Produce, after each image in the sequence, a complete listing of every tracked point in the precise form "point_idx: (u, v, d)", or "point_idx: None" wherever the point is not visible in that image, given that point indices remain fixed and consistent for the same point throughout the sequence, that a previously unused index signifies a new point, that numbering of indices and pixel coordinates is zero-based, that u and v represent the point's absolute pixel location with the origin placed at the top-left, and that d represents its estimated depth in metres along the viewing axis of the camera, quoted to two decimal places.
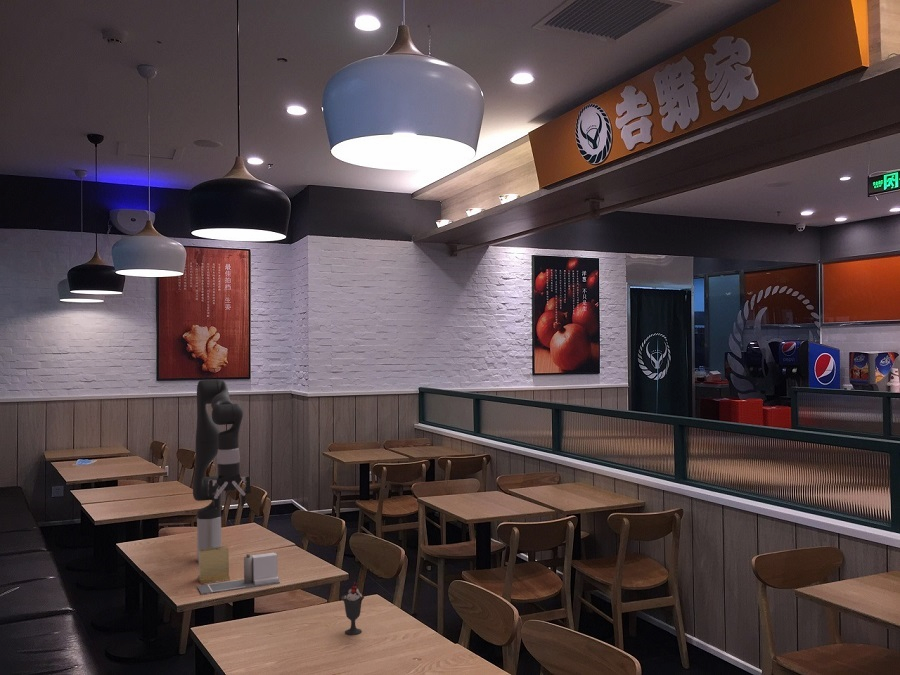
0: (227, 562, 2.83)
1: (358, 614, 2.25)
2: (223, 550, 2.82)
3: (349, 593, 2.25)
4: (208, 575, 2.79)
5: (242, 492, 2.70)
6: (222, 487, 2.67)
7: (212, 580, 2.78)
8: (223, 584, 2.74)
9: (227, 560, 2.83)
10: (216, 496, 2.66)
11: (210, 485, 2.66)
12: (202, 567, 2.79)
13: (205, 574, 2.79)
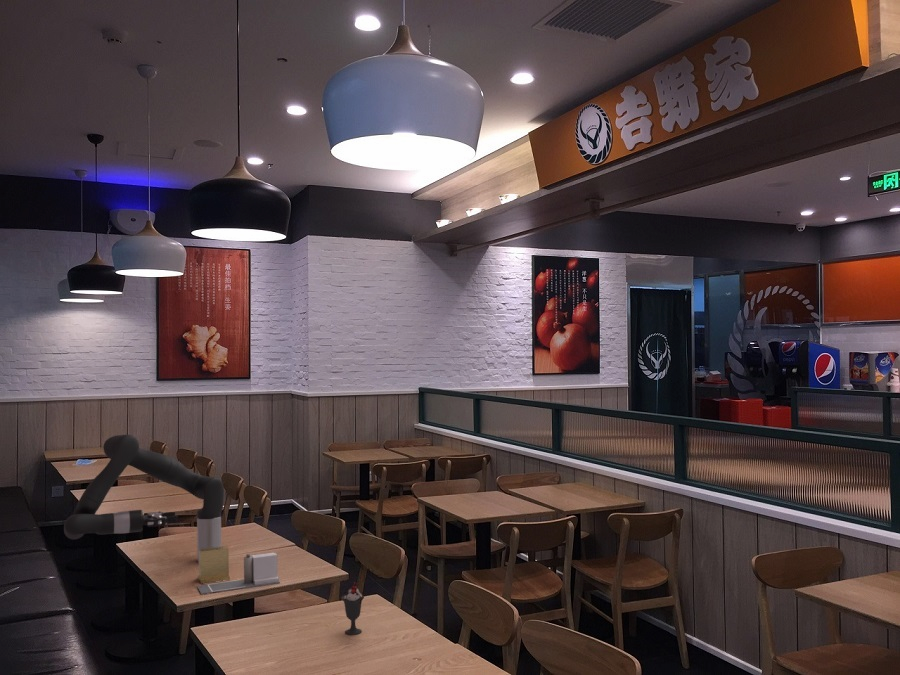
0: (227, 562, 2.83)
1: (358, 614, 2.25)
2: (223, 550, 2.82)
3: (349, 593, 2.25)
4: (208, 575, 2.79)
5: None
6: None
7: (212, 580, 2.78)
8: (223, 584, 2.74)
9: (227, 560, 2.83)
10: None
11: None
12: (202, 567, 2.79)
13: (205, 574, 2.79)
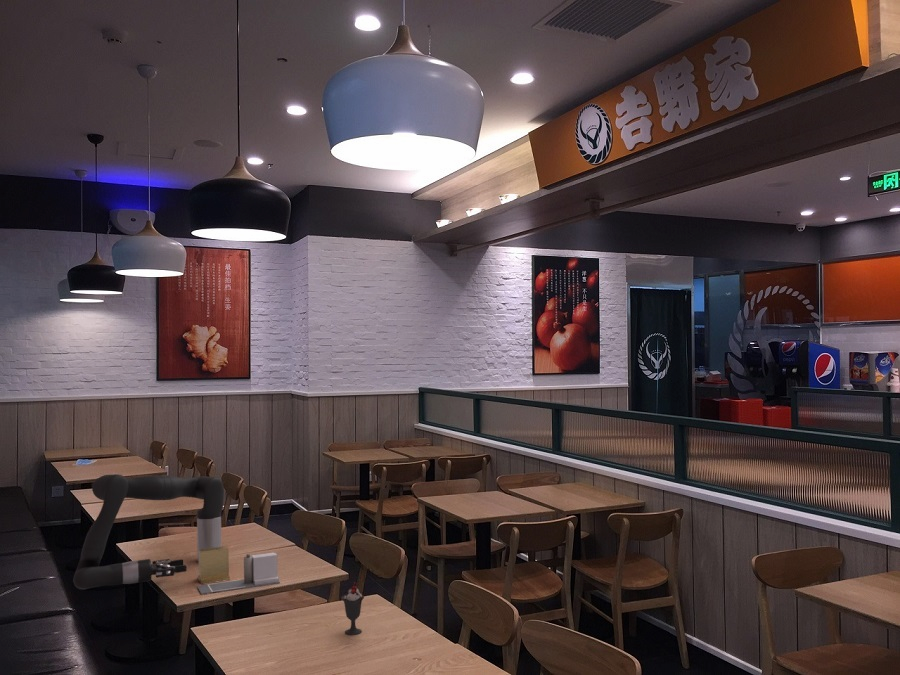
0: (227, 562, 2.83)
1: (358, 614, 2.25)
2: (223, 550, 2.82)
3: (349, 593, 2.25)
4: (208, 575, 2.79)
5: None
6: None
7: (212, 580, 2.78)
8: (223, 584, 2.74)
9: (227, 560, 2.83)
10: None
11: None
12: (202, 567, 2.79)
13: (205, 574, 2.79)
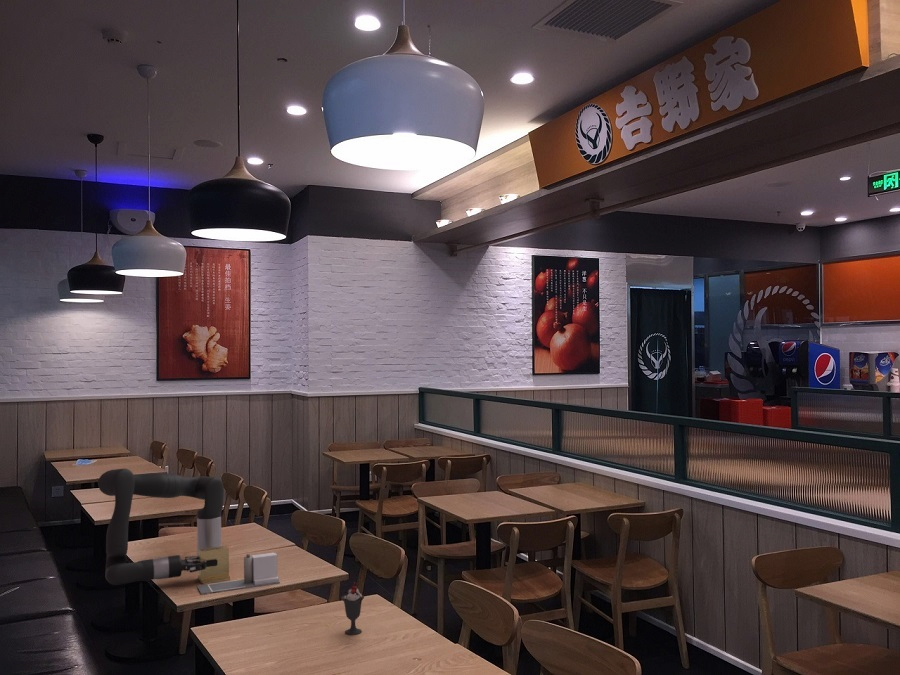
0: (227, 562, 2.83)
1: (358, 614, 2.25)
2: (223, 550, 2.82)
3: (349, 593, 2.25)
4: (208, 575, 2.79)
5: None
6: None
7: (212, 580, 2.78)
8: (223, 584, 2.74)
9: (227, 560, 2.83)
10: None
11: None
12: None
13: (205, 573, 2.79)
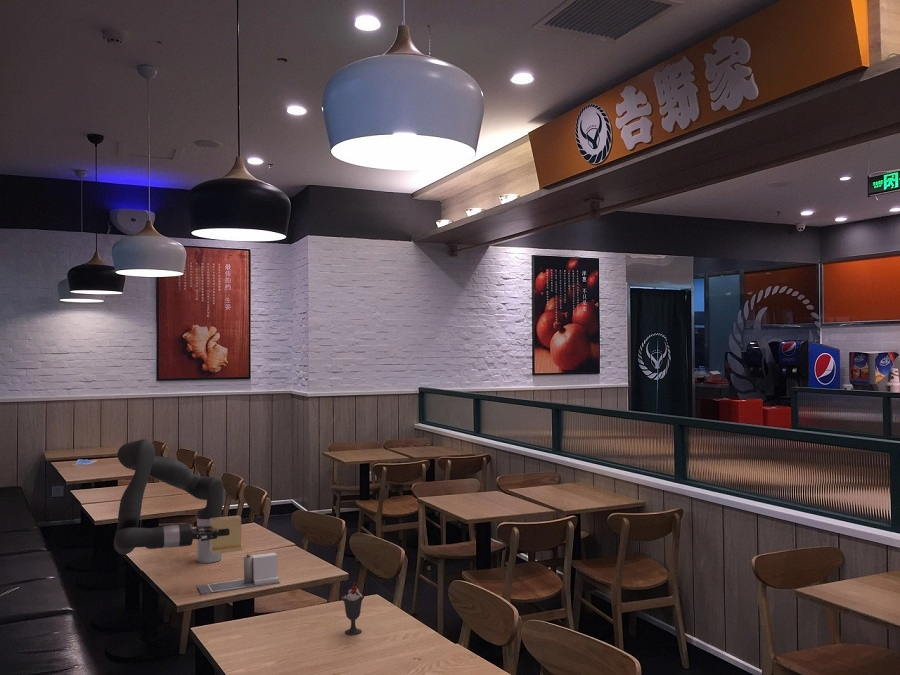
0: (239, 532, 2.73)
1: (358, 614, 2.25)
2: (235, 519, 2.73)
3: (349, 593, 2.25)
4: (220, 545, 2.70)
5: None
6: None
7: (224, 550, 2.69)
8: (223, 584, 2.74)
9: (239, 530, 2.73)
10: None
11: None
12: None
13: (216, 543, 2.69)
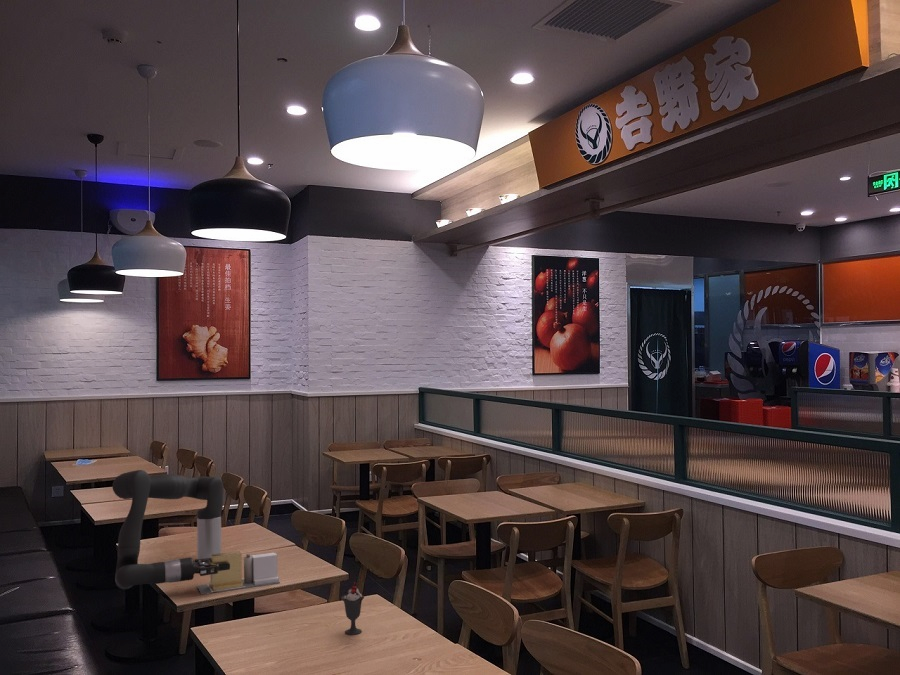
0: (240, 568, 2.73)
1: (358, 614, 2.25)
2: (236, 555, 2.72)
3: (349, 593, 2.25)
4: (220, 582, 2.70)
5: None
6: None
7: (224, 586, 2.68)
8: None
9: (240, 566, 2.73)
10: None
11: None
12: None
13: (217, 580, 2.69)
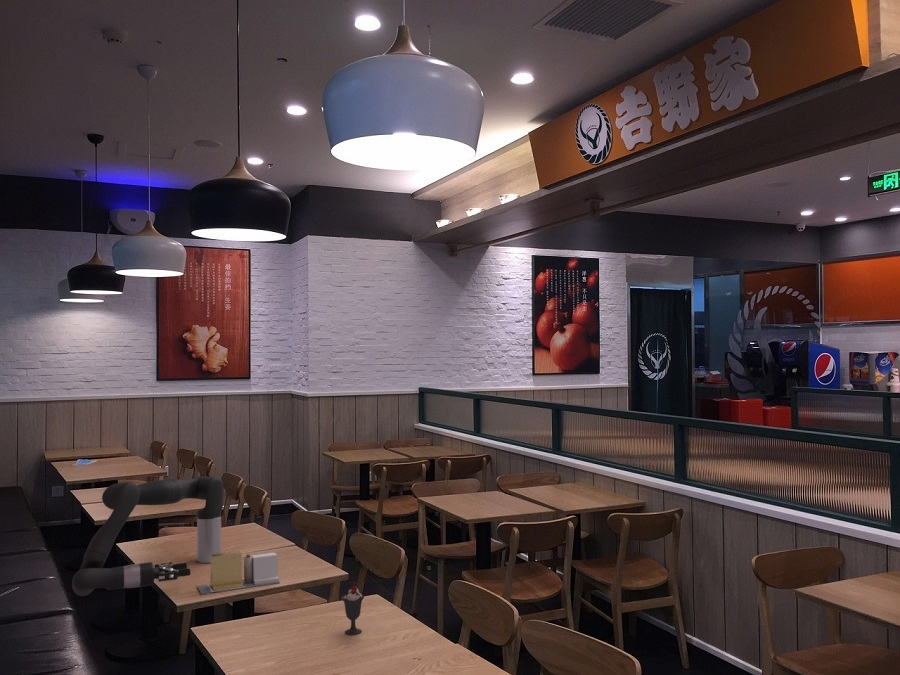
0: (240, 568, 2.73)
1: (358, 614, 2.25)
2: (236, 555, 2.72)
3: (349, 593, 2.25)
4: (220, 582, 2.70)
5: None
6: None
7: (224, 586, 2.68)
8: None
9: (240, 566, 2.73)
10: None
11: None
12: (214, 573, 2.69)
13: (217, 580, 2.69)
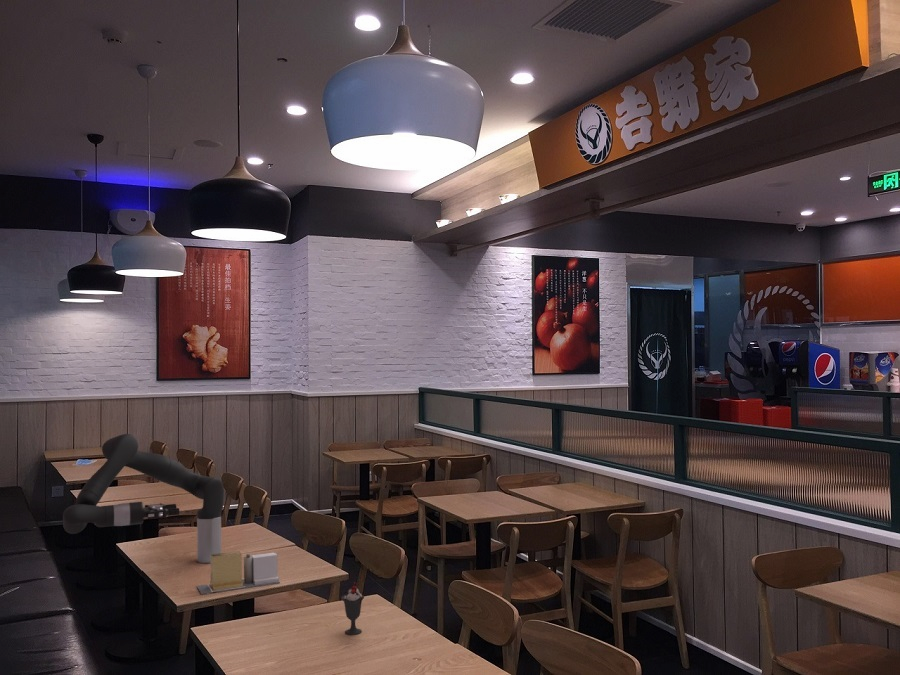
0: (240, 568, 2.73)
1: (358, 614, 2.25)
2: (236, 555, 2.72)
3: (349, 593, 2.25)
4: (220, 582, 2.70)
5: None
6: None
7: (224, 586, 2.68)
8: None
9: (240, 566, 2.73)
10: None
11: None
12: (214, 573, 2.69)
13: (217, 580, 2.69)
